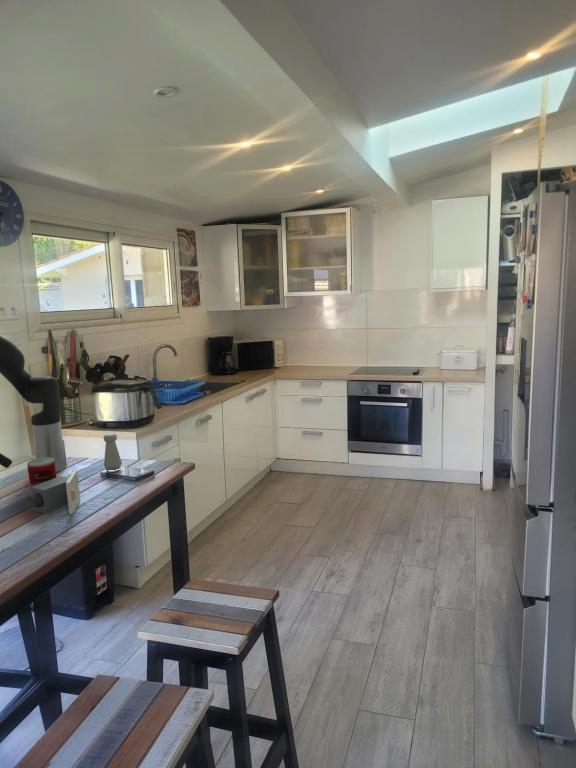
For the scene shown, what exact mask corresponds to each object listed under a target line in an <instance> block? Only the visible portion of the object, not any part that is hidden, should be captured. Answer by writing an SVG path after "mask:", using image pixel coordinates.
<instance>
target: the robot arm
mask: <svg viewBox="0 0 576 768" xmlns="http://www.w3.org/2000/svg"><path fill="white" fill-rule="evenodd" d="M25 361H26V360H25V355H24V354H23V352H22V351H21V350H20V349H19V348H18V346H16V345H15V343H14V342H13V341H11V340H10V339H9V338H8V337H6V336H3V335H2V334H0V374H1V376H2V377H4V379H6V380H7V382H9V383H10V384H11V386H13V388H14V389H15V390H16V391H17V393H18V394H19V395H20V396H21V397H22V399H24V400H25V402H27V403H30V404H42V410H40V412H37V413H35V414H32V415H31V416H30V421H31V430H32V437H33V438H32V439H33V445H34V453H35V459H36V458H42V457H51V458H54V461H55V468H56V473H58V472H62V471H64V470H65V469H66V468H67V465H68V464H67V463H68V462H67V455H66V454H67V453H66V445H65V440H63V434H62V433H63V432H62V423H61V410H62V409H61V393H60V392H61V391H60V385H59V382H58V380H57V379H56V378H55V377H53V376H33V375H31V374H29V372H27V371H26V370H25ZM12 464H13V461H12V459H11V458H10V457H7V456H6V455H5V454H2V452H0V466H2V467H4V468H5V469H8V468H10V466H11V465H12Z"/></svg>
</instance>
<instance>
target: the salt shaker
mask: <svg viewBox="0 0 576 768" xmlns="http://www.w3.org/2000/svg"><path fill="white" fill-rule="evenodd" d="M117 438H118V436H117V434H116V433H114V432H112V433H111V432H110V433H105V434H104V435H103V441H104V442H105V447H104V448H105V450H104V463H103V465H104V466H103V467H104V468H105V470H106V471H107V470H116V469H119V468H120V469H121V466H122V460H121V455H120V452H119V450H118V447H117V443H116V441H117Z"/></svg>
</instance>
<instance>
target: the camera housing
mask: <svg viewBox="0 0 576 768" xmlns="http://www.w3.org/2000/svg"><path fill="white" fill-rule="evenodd" d="M73 471H77V470H75V469H73V470H72V473H73ZM56 477H57V476H56ZM68 479H69V477H68V476H61V475H60V476H58V477H57V478H54V479H51V480H49V481H46V482H43V483H40V484H38V485H35V486H32V487H31V489H30V494H31V493H32V495H31V501H32V508H33V511H36V512H40V513H43V514H46V515H48V514H50V513H52V512H54V511H57V510H59V509H62V508H64V507H68V498H67V489H66V482H67V480H68Z"/></svg>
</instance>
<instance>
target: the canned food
mask: <svg viewBox="0 0 576 768" xmlns="http://www.w3.org/2000/svg"><path fill="white" fill-rule="evenodd" d="M27 473H28V481H29V488H30V490H31V487H32V486H35V485H38V484H40V483H43V482H46V481H49V480H51V479H54V478H57V472H56V468H55V461H54V458H51V457H42V458H36V457H35V458H34V459H30V460H29V461H28V462H27ZM30 495H31V496H32V493H31V492H30Z"/></svg>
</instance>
